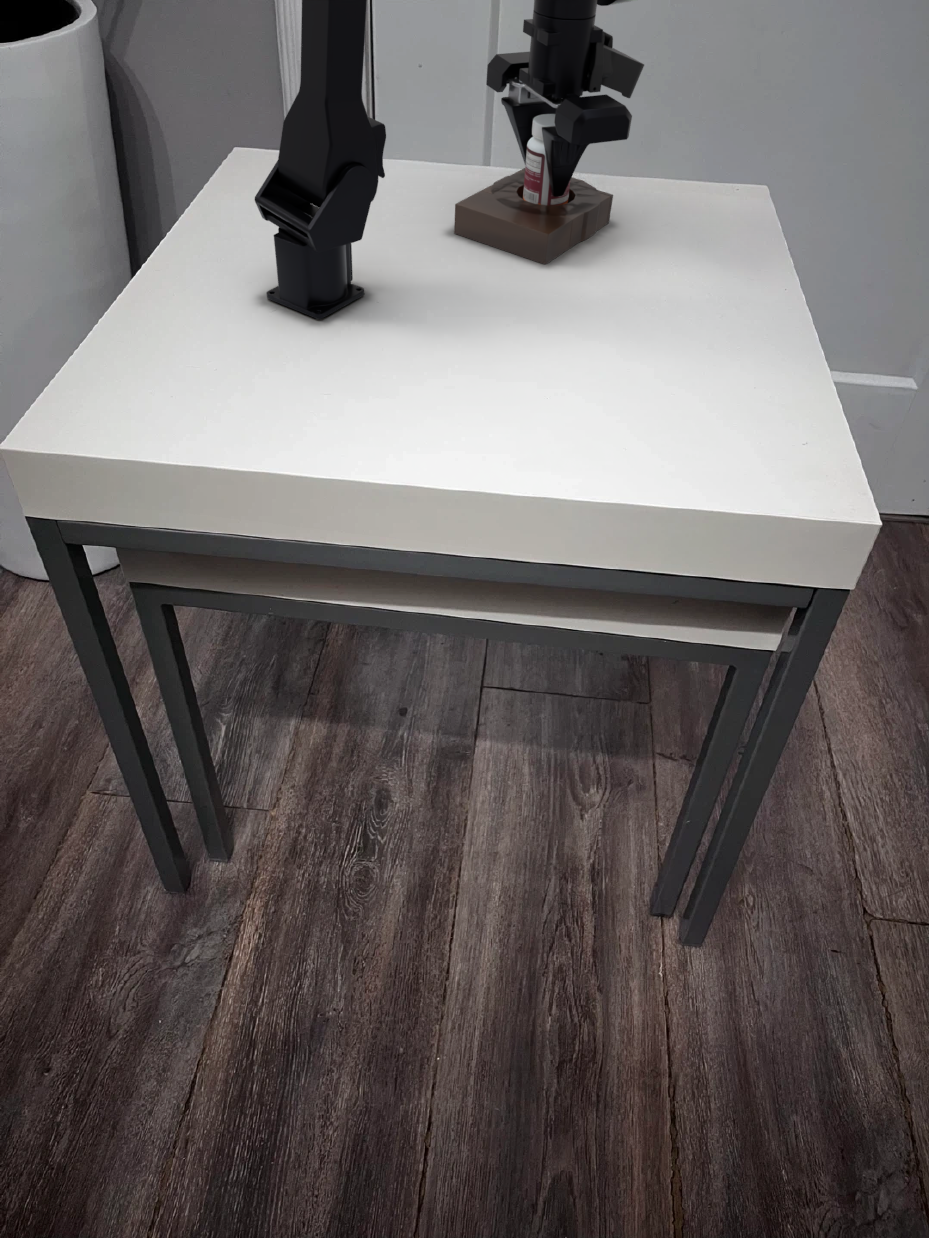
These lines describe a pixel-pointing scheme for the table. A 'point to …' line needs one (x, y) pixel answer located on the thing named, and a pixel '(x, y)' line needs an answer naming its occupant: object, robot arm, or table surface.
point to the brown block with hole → (531, 218)
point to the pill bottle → (540, 167)
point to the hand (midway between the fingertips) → (545, 187)
